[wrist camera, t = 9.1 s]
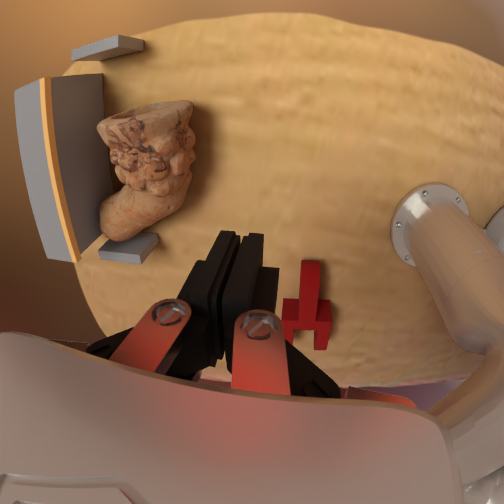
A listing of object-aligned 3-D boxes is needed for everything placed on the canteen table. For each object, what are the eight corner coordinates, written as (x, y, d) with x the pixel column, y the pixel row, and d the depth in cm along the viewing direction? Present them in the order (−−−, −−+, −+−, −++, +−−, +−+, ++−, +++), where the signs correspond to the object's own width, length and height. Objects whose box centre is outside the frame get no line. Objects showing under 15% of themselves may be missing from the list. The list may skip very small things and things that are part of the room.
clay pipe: (240, 153, 37) (176, 62, 27) (240, 200, 30) (151, 81, 20) (137, 211, 43) (74, 144, 33) (119, 262, 36) (38, 187, 26)
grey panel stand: (143, 39, 26) (84, 29, 16) (158, 242, 42) (120, 292, 32) (75, 58, 28) (13, 63, 18) (98, 237, 43) (55, 279, 33)
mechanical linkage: (323, 333, 47) (324, 356, 43) (282, 332, 48) (280, 355, 44) (335, 254, 39) (339, 276, 35) (284, 253, 40) (282, 274, 36)
